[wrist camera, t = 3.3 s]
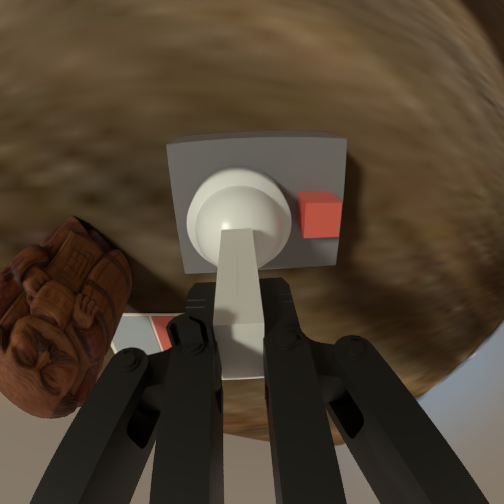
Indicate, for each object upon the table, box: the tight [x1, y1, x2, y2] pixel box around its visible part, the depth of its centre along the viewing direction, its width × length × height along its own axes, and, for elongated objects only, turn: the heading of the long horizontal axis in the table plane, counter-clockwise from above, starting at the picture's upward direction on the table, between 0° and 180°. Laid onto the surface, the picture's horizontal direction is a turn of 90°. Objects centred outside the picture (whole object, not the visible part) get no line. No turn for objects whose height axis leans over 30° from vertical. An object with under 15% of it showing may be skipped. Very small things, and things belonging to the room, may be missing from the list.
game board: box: [111, 313, 264, 380], centre depth 33 cm, size 22×13×1 cm, turn 92°
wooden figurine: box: [0, 216, 133, 419], centre depth 18 cm, size 12×6×18 cm, turn 42°
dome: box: [187, 166, 292, 269], centre depth 17 cm, size 6×6×5 cm
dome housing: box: [166, 131, 347, 274], centre depth 20 cm, size 12×10×7 cm
